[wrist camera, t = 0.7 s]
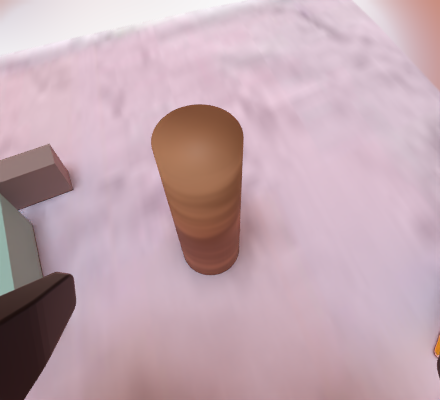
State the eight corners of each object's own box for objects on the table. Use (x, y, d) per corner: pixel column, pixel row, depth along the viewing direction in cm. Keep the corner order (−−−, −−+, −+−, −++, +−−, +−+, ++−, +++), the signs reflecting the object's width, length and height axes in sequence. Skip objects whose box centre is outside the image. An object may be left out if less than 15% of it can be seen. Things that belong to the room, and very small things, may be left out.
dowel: (220, 285, 25) (212, 190, 14) (172, 257, 26) (132, 151, 15) (248, 238, 26) (259, 124, 16) (202, 214, 27) (184, 93, 17)
